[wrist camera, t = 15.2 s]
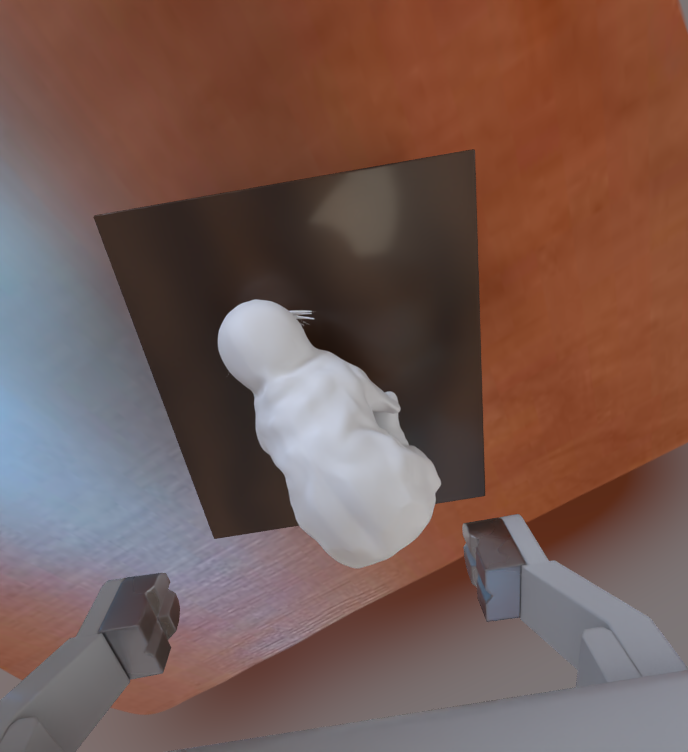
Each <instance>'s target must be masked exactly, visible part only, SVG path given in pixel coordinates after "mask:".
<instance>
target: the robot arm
mask: <svg viewBox="0 0 688 752" xmlns="http://www.w3.org/2000/svg"><path fill="white" fill-rule="evenodd" d="M463 536H464V539H465V541H466V544H465V546H464V557H465V562H466V567H467V571H468V574H469V577H470V580H471V582H472V584H473V585H475V586H476V587H477V594H478V601H479V603H480V606H481V608H482V611H483V613H484V616H485V618H486V621H487V622H489V621H497V620H504V619H512V618H521V620H522V621H523V622H524V623H525V624H526V625H528V626H529V627H530V628H531V629H532V630H533V631H534V632H535V633H537V634H538V635H539V636H540V637H541V638H542V639H543V640H544V641H546V642H547V643H548V644H549V645H550V646H551V647H553V649H555V650H556V651H557V652H558V653H559V654H560V655H561V656H562V657H564V658H565V659H566V660H567V661H568V662H569V663H570V664H571V665H573V666H574V667H575V668H576V669H577V670H578V673H577V682H576V687H575V688H569V689H562V690H556V691H549V692H544V693H537V694H530V695H524V696H517V697H511V698H505V699H499V700H492V701H486V702H479V703H473V704H467V705H460V706H454V707H447V708H441V709H435V710H428V711H422V712H416V713H410V714H403V715H397V716H391V717H384V718H378V719H372V720H366V721H359V722H353V723H346V724H340V725H334V726H328V727H321V728H315V729H308V730H302V731H295V732H289V733H283V734H276V735H270V736H263V737H257V738H250V739H244V740H238V741H231V742H225V743H219V744H212V745H206V746H199V747H193V748H187V749H181V750H174V751H168V752H688V667H687V666H686V665H685V663H684V662H683V661H682V659H681V658H680V657H679V655H678V654H677V653H676V651H675V650H674V649H673V647H672V646H671V645H670V644H669V642H668V641H667V640H666V638H665V637H664V636H663V634H662V633H661V632H660V630H659V629H658V628H657V626H656V625H655V624H654V622H653V621H652V620H651V618H650V617H648V616H646V615H645V614H643V613H641V612H640V611H638V610H636V609H635V608H633V607H631V606H630V605H628V604H626V603H625V602H623V601H621V600H620V599H618V598H616V597H615V596H613V595H611V594H610V593H608V592H606V591H605V590H603V589H601V588H600V587H598V586H596V585H595V584H593V583H591V582H590V581H588V580H586V579H585V578H583V577H581V576H580V575H578V574H576V573H575V572H573V571H571V570H570V569H568V568H566V567H565V566H563V565H561V564H559V563H558V562H556V561H549V560H548V559H547V557H546V555H545V554H544V552H543V551H542V549H541V548H540V546H539V544H538V543H537V541H536V539H535V537H534V536H533V534H532V533H531V531H530V529H529V528H528V526H527V524H526V523H525V521H524V519H523V518H522V516H520V515H519V514H516V515H510V516H504V517H500V518H493V519H487V520H481V521H475V522H469V523H464V524H463ZM169 584H170V580H169V578H168V577H167V575H166V573H156V574H149V575H142V576H134V577H127V578H122V579H115V580H108V581H107V582H106V583H105V584H104V585H103V586H102V588H101V590H100V592H99V594H98V596H97V597H96V599H95V601H94V603H93V605H92V607H91V609H90V611H89V613H88V615H87V617H86V618H85V620H84V622H83V624H82V626H81V628H80V630H79V632H78V634H77V636H76V637H74V638H70V639H69V640H67V641H66V642H65V643H64V644H63V645H62V646H61V647H60V648H58V649H57V650H56V651H55V652H54V653H53V654H52V655H51V656H50V657H48V658H47V659H46V660H45V661H44V662H43V663H42V664H41V665H39V666H38V667H37V668H36V669H35V670H34V671H33V672H32V673H30V674H29V675H28V676H27V677H26V678H25V679H24V680H23V681H21V683H19V684H18V685H17V686H16V687H15V688H14V689H12V690H11V691H10V692H9V693H8V694H7V695H6V696H5V697H3V698H2V699H1V700H0V752H76V750H77V749H78V748H79V747H80V746H81V744H82V743H83V742H84V740H85V739H86V738H87V736H88V735H89V734H90V733H91V731H92V730H93V729H94V728H95V726H96V725H97V724H98V722H99V721H100V720H101V718H102V717H103V716H104V715H105V713H106V712H107V711H108V710H109V708H110V707H111V706H112V704H113V703H114V702H115V701H116V699H117V698H118V697H119V695H120V694H121V693H122V692H123V690H124V689H125V688H126V686H127V685H128V684H129V683H130V679H136V678H141V677H146V676H151V675H157V674H162V673H163V672H164V668H165V665H166V662H167V659H168V656H169V652H170V649H171V646H170V644H169V642H168V639H169V638H170V637H171V636H172V635H173V634H174V633H175V632H176V630H177V626H178V623H179V615H180V606H179V601H178V598H177V596H176V593H174V592H172V591H171V590H169V589H168V587H169Z"/></svg>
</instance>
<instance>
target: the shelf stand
mask: <svg viewBox="0 0 688 752" xmlns="http://www.w3.org/2000/svg"><path fill="white" fill-rule="evenodd" d="M94 219H95V222H96V225H97V227H98V230H99V233H100V235H101V238H102V241H103V243H104V246H105V249H106V251H107V254H108V257H109V259H110V262H111V265H112V267H113V270H114V273H115V275H116V278H117V281H118V283H119V286H120V289H121V291H122V294H123V297H124V299H125V302H126V305H127V307H128V310H129V313H130V315H131V318H132V321H133V323H134V326H135V329H136V331H137V334H138V337H139V339H140V342H141V345H142V347H143V350H144V353H145V355H146V358H147V361H148V363H149V366H150V369H151V371H152V374H153V377H154V379H155V382H156V385H157V387H158V390H159V393H160V395H161V398H162V401H163V403H164V406H165V409H166V411H167V414H168V417H169V419H170V422H171V425H172V427H173V430H174V433H175V435H176V438H177V441H178V443H179V446H180V449H181V451H182V454H183V457H184V459H185V462H186V465H187V467H188V470H189V473H190V475H191V478H192V481H193V483H194V486H195V489H196V491H197V494H198V497H199V499H200V502H201V505H202V507H203V510H204V513H205V515H206V518H207V521H208V523H209V526H210V529H211V531H212V534H213V537H214V539H217V538H223V537H230V536H236V535H242V534H249V533H255V532H261V531H267V530H274V529H280V528H286V527H293V526H299V524H298V523H297V520H296V518H295V514H294V511H293V508H292V506H291V503H290V497H289V491H288V488H287V484H286V479H285V476H284V474H283V473H282V471H281V470H280V469H279V468H278V467H277V466H276V465H275V464H274V462H273V460H272V458H271V456H270V455H269V454H268V453H266V452H265V451H264V450H263V448H262V447H261V445H260V443H259V440H258V438H257V434H256V413H255V407H254V394H253V392H252V391H251V390H250V389H248V388H247V387H246V386H244V385H243V384H242V383H241V382H239V381H238V380H237V379H236V378H235V377H234V376H233V375H232V374H231V373H230V372H229V370H228V369H227V368H226V366H225V364H224V362H223V361H222V358H221V356H220V353H219V350H218V333H219V329H220V326H221V324H222V322H223V320H224V319H225V317H226V316H227V314H228V313H229V312H230V311H231V310H233V309H234V308H235V307H237V306H238V305H240V304H242V303H244V302H248V301H251V300H255V299H257V300H266V301H272V302H274V303H277V304H279V305H281V306H282V307H284V308H286V309H287V310H288V311H294V310H295V311H296V310H298V311H301V310H302V311H303V310H304V311H312V312H305V313H312V314H305V315H298V316H303V317H309V318H314V319H300V320H299V319H297V320H298V322H299V323H301V324H300V325H302V324H303V325H302V328H303V329H304V332H305V334H306V336H307V338H308V340H309V341H310V343H311V344H312V345H313V346H314V347H315V348H317V349H319V350H325V351H329V352H331V353H333V354H335V355H336V356H338V357H339V358H341V359H342V360H344V361H346V362H348V363H350V364H352V365H354V366H357V367H358V368H360V369H361V370H363V371H364V372H365V374H366V375H367V376H368V378H369V379H370V380H371V381H372V382H373V383H374V384H375V385H376V386H378V387H379V388H380V389H381V390H382V391H383V392H384V393H385V392H388V391H391V392H393V393H395V395H396V396H397V399H398V404H399V405H400V408H401V410H400V412H399V413H398V420H399V425H400V428H401V430H402V431H403V433H404V435H405V438H406V440H407V441H408V444H409V445H411V446H415V447H416V448H418V449H419V450H421V451H422V452H423V453H424V454H425V455H426V457H427V458H428V459H430V460H431V462H432V463H433V465H434V467H435V469H436V471H437V474H438V477H439V478H440V480H441V485H440V487H439V489H438V490H437V491H436V493H435V497H436V502H435V504H437V503H444V502H450V501H456V500H462V499H469V498H475V497H481V496H485V471H484V437H483V404H482V371H481V338H480V304H479V271H478V238H477V205H476V171H475V150H474V149H472V150H466V151H461V152H455V153H449V154H444V155H438V156H432V157H426V158H421V159H415V160H409V161H403V162H398V163H392V164H386V165H381V166H375V167H369V168H363V169H358V170H352V171H346V172H340V173H335V174H329V175H323V176H318V177H312V178H306V179H300V180H295V181H289V182H283V183H277V184H272V185H266V186H260V187H255V188H249V189H243V190H237V191H232V192H226V193H220V194H214V195H209V196H203V197H197V198H192V199H186V200H180V201H174V202H169V203H163V204H157V205H151V206H146V207H140V208H134V209H129V210H123V211H117V212H111V213H106V214H100V215H95V216H94ZM313 311H314V312H313ZM301 320H302V321H301ZM303 321H304V323H303ZM305 322H306V323H305ZM307 323H308V324H307ZM309 324H310V325H309ZM228 374H229V375H228Z"/></svg>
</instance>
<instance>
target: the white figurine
mask: <svg viewBox="0 0 688 752" xmlns="http://www.w3.org/2000/svg"><path fill="white" fill-rule="evenodd" d="M305 312H312V311H304V310H303V311H302V310H301V311H298V310H296V311H295V310H294V311H288V310H287V309H286V308H284V307H282V306H281V305H279V304H277V303H274V302H272V301H266V300H257V299H255V300H251V301H248V302H244V303H242V304H240V305H238V306H237V307H235V308H234V309H233V310H231V311H230V312H229V313H228V314H227V316H226V317H225V319H224V320H223V322H222V324H221V326H220V329H219V333H218V350H219V353H220V356H221V358H222V361H223V362H224V364H225V366H226V368H227V369H228V370H229V372H230V373H231V374H232V375H233V376H234V377H235V378H236V379H237V380H238V381H239V382H241V383H242V384H243V385H244V386H246V387H247V388H248V389H250V390H251V391H252V392H253V394H254V407H255V413H256V434H257V438H258V440H259V443H260V445H261V447H262V448H263V450H264V451H265V452H266V453H268V454H269V455H270V456H271V458H272V460H273V462H274V464H275V465H276V466H277V467H278V468H279V469H280V470H281V471H282V473H283V474H284V476H285V479H286V484H287V488H288V491H289V497H290V503H291V506H292V508H293V511H294V514H295V518H296V520H297V523H298V524H299V526H300V527H301V528H302V529H303V530H304V531H305V532H306V533H307V534H308V535H310V536H311V537H312V538H313V539H315V540H316V541H317V542H318V543H319V544H320V546H321V547H322V548H323V549H324V550H325V551H326V553H328V554H329V555H330V556H331V557H332V558H333V559H335V560H336V561H337V562H339V563H341V564H343V565H346V566H349V567H352V568H362V567H365V566H369V565H372V564H375V563H377V562H380V561H384V560H386V559H388V558H390V557H392V556H393V555H395V554H396V553H397V552H398V551H399V550H401V549H403V548H404V547H406V546H407V545H408V544H410V543H411V542H413V541H414V540H415V539H416V538H417V537H418V536H419V535H420V534H421V532H422V531H423V530H424V528H425V527H426V526H427V524H428V523H429V521H430V519H431V517H432V514H433V509H434V505H435V502H436V497H435V493H436V491H437V490H438V489H439V487H440V485H441V480H440V478H439V477H438V474H437V471H436V469H435V467H434V465H433V463H432V462H431V460H430V459H428V458H427V457H426V455H425V454H424V453H423V452H422V451H421V450H419V449H418V448H416V447H415V446H411V445H409V444H408V441H407V440H406V438H405V435H404V433H403V431H402V430H401V428H400V425H399V420H398V413H399V412H400V410H401V408H400V405H399V404H398V399H397V396H396V395H395V393H393V392H391V391H388V392H385V393H384V392H383V391H382V390H381V389H380V388H379V387H378V386H376V385H375V384H374V383H373V382H372V381H371V380H370V379H369V378H368V376H367V375H366V374H365V372H364V371H363V370H361V369H360V368H358V367H357V366H354V365H352V364H350V363H348V362H346V361H344V360H342V359H341V358H339V357H338V356H336V355H335V354H333V353H331V352H329V351H325V350H319V349H317V348H315V347H314V346H313V345H312V344H311V343H310V341H309V340H308V338H307V336H306V334H305V332H304V329H303V328H302V325H303V324H302V325H300V324H301V323H299V322H298V320H297V319H299V320H300V319H314V318H309V317H303V316H298V315H305V314H312V313H305ZM313 312H314V311H313ZM301 321H302V320H301ZM303 323H304V321H303ZM305 323H306V322H305ZM307 324H308V323H307ZM309 325H310V324H309ZM228 375H229V374H228Z"/></svg>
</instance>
